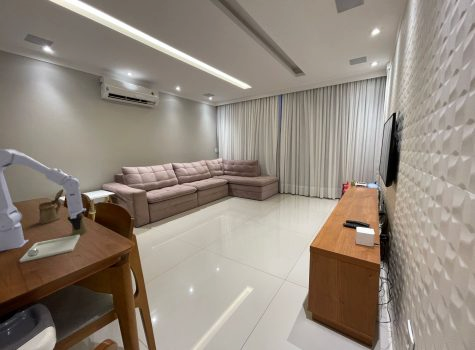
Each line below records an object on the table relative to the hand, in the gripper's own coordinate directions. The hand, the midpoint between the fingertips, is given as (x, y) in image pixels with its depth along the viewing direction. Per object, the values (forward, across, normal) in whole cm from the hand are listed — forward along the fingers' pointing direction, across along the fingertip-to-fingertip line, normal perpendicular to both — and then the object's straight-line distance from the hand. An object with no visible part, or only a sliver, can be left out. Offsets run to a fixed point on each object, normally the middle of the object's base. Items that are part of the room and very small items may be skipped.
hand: (78, 227), depth 101 cm
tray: (+3, -13, +7) cm, 15 cm away
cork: (+4, 0, 0) cm, 4 cm away
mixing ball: (+3, -18, +12) cm, 22 cm away
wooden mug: (+4, +35, +18) cm, 40 cm away
